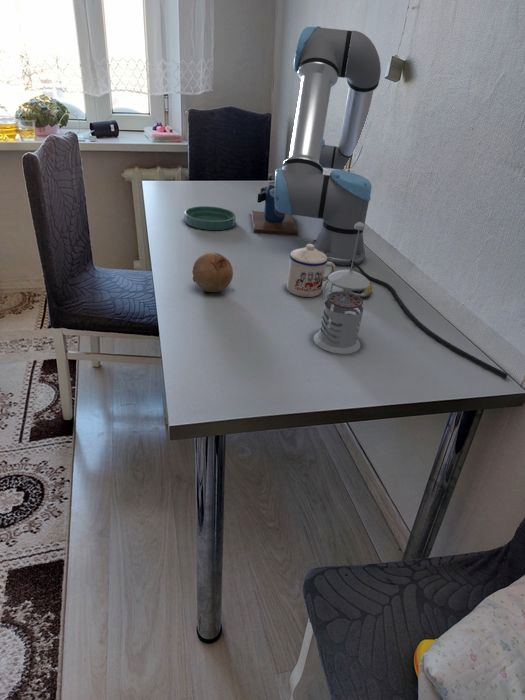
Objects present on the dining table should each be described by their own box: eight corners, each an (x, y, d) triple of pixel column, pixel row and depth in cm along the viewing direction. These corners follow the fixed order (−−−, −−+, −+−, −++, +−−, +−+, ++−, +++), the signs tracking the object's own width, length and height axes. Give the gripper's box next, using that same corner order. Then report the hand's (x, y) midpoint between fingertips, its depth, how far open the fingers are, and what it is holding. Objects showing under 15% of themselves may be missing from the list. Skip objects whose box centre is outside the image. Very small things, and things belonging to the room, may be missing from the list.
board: (297, 236, 159) (298, 232, 158) (253, 232, 158) (254, 229, 157) (290, 217, 176) (291, 213, 175) (251, 214, 175) (251, 210, 174)
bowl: (235, 232, 156) (235, 223, 155) (182, 228, 155) (183, 219, 153) (234, 217, 170) (235, 208, 168) (186, 213, 168) (186, 204, 167)
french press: (328, 357, 98) (352, 232, 85) (301, 328, 106) (318, 212, 93) (370, 350, 101) (398, 230, 88) (340, 323, 110) (362, 210, 97)
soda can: (277, 225, 162) (281, 188, 156) (259, 220, 165) (262, 183, 159) (287, 221, 167) (292, 184, 161) (270, 216, 170) (274, 180, 164)
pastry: (348, 280, 131) (351, 267, 129) (373, 286, 129) (376, 272, 127) (342, 294, 123) (345, 280, 121) (369, 300, 122) (372, 286, 120)
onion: (224, 305, 119) (239, 277, 112) (185, 295, 116) (198, 265, 109) (225, 277, 125) (239, 248, 118) (188, 266, 122) (201, 236, 115)
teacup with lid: (292, 298, 119) (298, 252, 113) (280, 282, 126) (286, 238, 120) (338, 297, 122) (347, 251, 116) (324, 281, 129) (332, 238, 123)
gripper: (322, 204, 175) (296, 219, 157) (271, 193, 182) (241, 206, 164) (325, 182, 171) (299, 195, 153) (273, 171, 178) (242, 182, 160)
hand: (269, 200), depth 158 cm, fingers closed on soda can, 7 cm apart
